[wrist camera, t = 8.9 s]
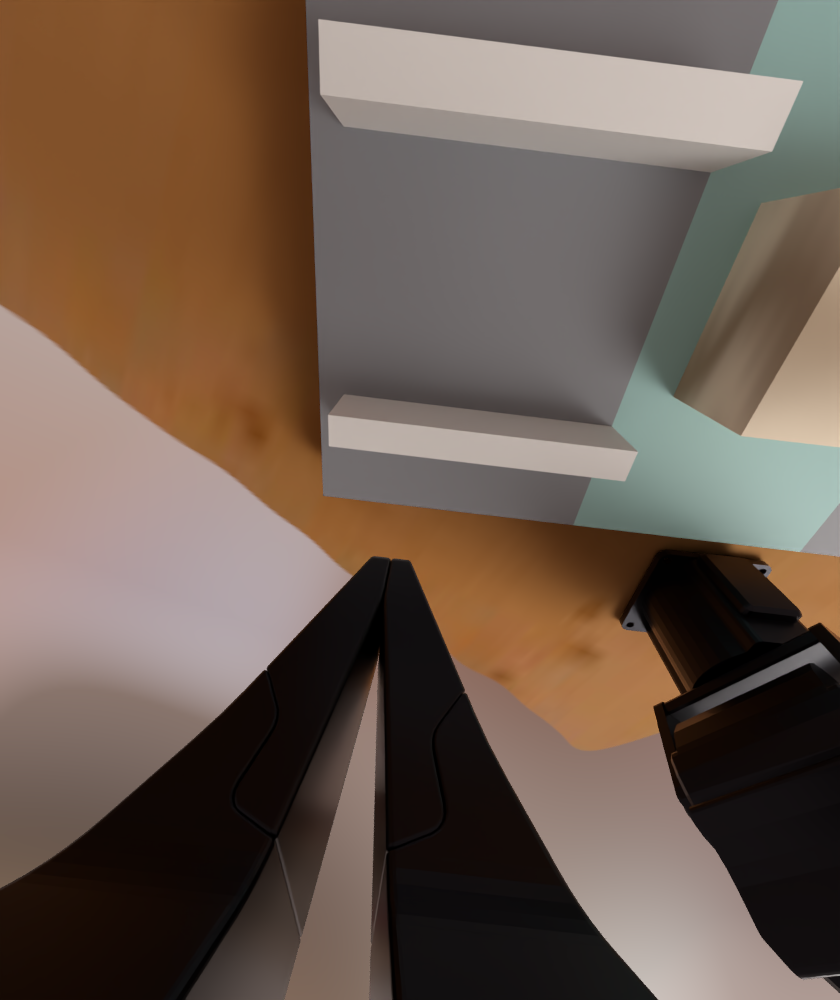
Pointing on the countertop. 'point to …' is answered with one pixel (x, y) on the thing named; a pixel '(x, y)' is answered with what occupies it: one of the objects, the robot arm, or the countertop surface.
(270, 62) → the countertop surface
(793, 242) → the beech block
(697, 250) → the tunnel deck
